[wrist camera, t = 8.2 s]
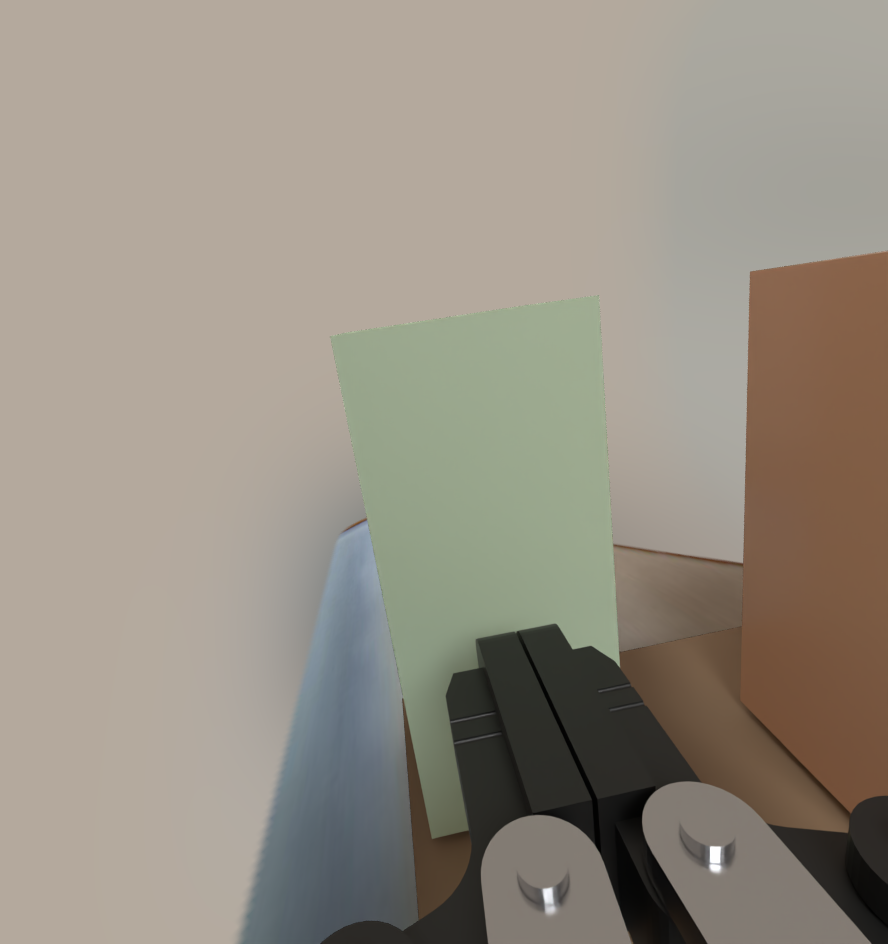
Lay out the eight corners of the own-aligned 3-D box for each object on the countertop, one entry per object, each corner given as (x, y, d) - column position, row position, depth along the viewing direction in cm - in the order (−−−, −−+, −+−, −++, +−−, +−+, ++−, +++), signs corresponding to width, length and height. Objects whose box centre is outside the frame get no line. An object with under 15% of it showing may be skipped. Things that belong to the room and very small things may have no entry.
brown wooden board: (800, 647, 20) (802, 613, 19) (1204, 952, 10) (1226, 897, 10) (409, 733, 18) (402, 698, 18) (446, 1172, 9) (433, 1120, 8)
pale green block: (559, 667, 18) (524, 305, 14) (627, 793, 13) (598, 295, 10) (416, 698, 17) (345, 333, 14) (432, 838, 13) (329, 335, 9)
